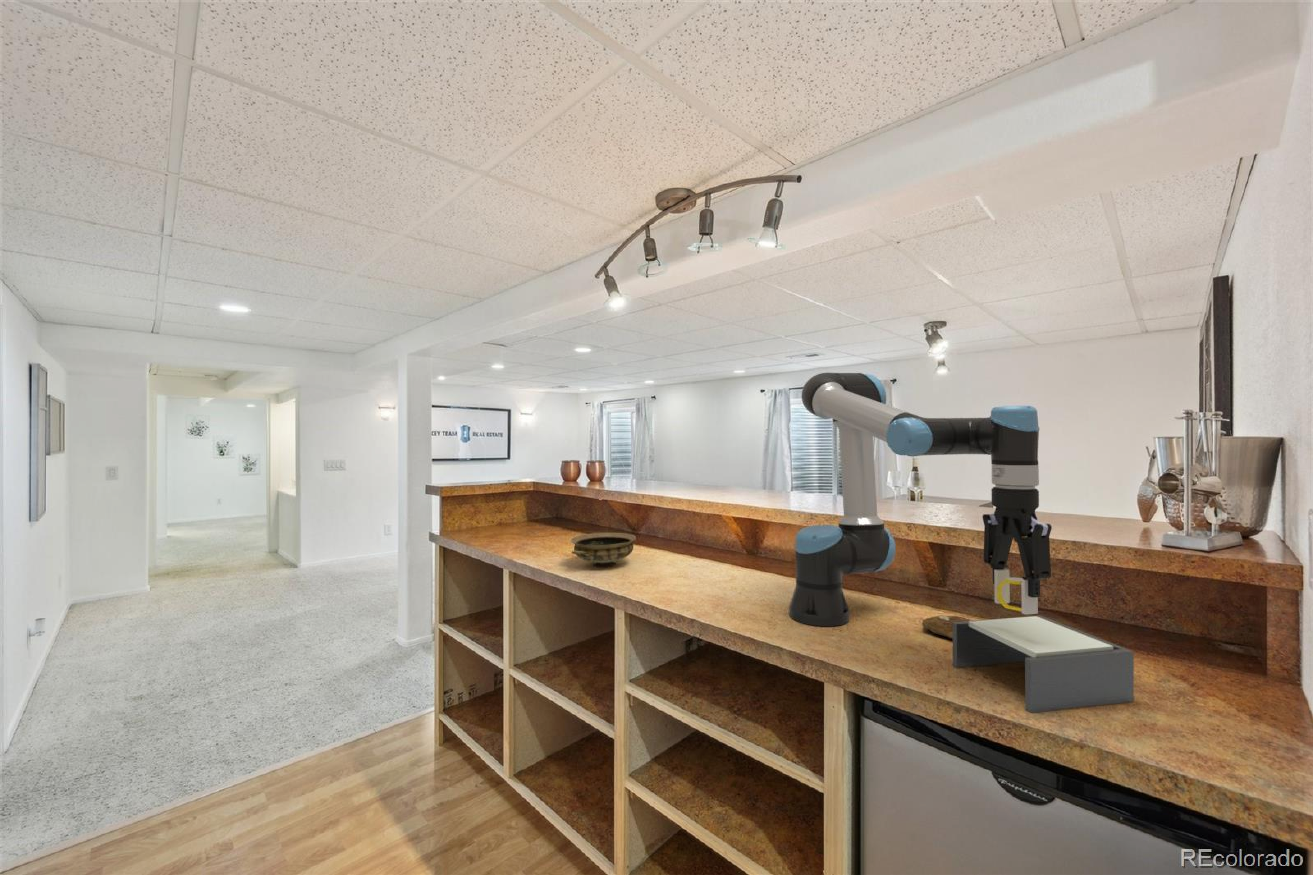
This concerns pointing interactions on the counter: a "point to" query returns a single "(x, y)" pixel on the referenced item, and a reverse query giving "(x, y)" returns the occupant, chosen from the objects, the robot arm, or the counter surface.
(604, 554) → the ceramic bowl
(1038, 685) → the stand
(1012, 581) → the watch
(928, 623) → the decorative rock
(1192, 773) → the counter surface
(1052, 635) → the trapdoor
